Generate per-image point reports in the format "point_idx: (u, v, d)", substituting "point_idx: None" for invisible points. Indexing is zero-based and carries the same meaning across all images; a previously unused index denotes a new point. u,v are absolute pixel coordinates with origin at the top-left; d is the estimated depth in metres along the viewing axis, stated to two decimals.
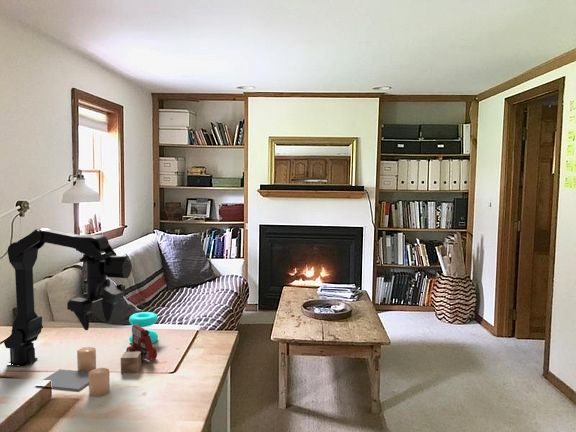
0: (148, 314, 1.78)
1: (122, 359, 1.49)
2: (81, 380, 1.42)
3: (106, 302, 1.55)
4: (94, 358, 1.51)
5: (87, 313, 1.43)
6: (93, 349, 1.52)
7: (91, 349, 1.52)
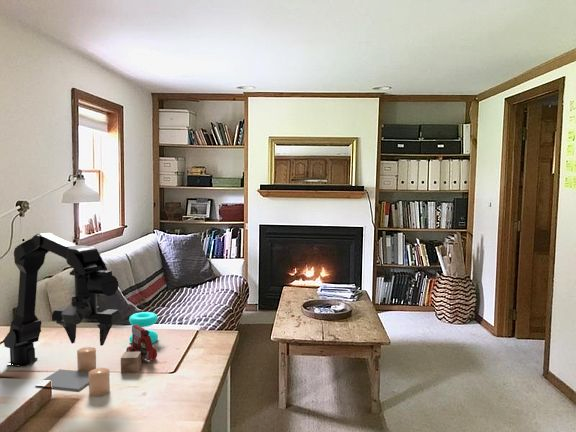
0: (148, 314, 1.78)
1: (122, 359, 1.49)
2: (81, 380, 1.42)
3: None
4: (94, 358, 1.51)
5: (62, 325, 1.39)
6: (93, 349, 1.52)
7: (91, 349, 1.52)
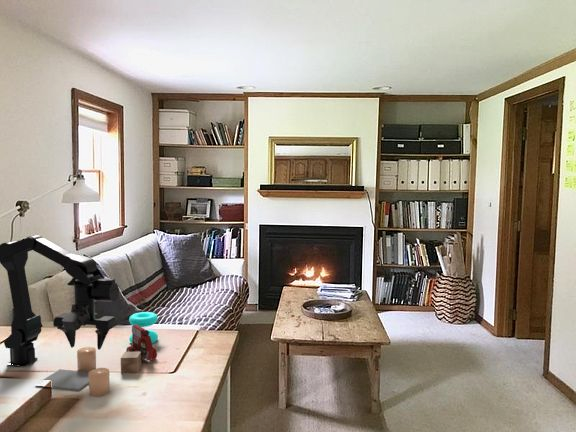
0: (148, 314, 1.78)
1: (122, 359, 1.49)
2: (81, 380, 1.42)
3: None
4: (94, 358, 1.51)
5: (62, 330, 1.50)
6: (93, 349, 1.52)
7: (91, 349, 1.52)
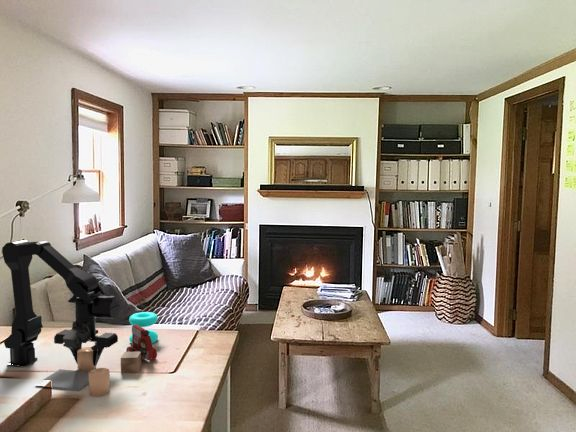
0: (148, 314, 1.78)
1: (122, 359, 1.49)
2: (81, 380, 1.42)
3: None
4: None
5: (68, 347, 1.50)
6: None
7: (91, 349, 1.52)
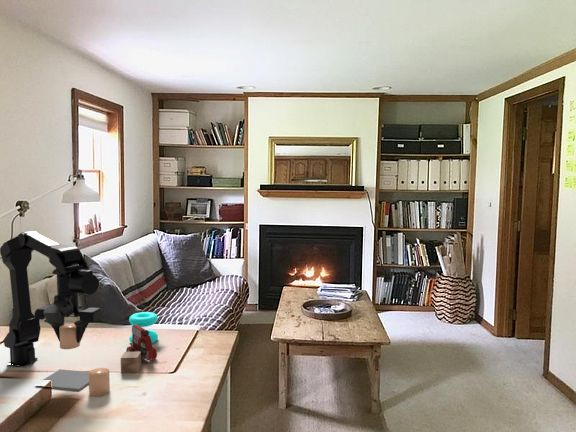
0: (148, 314, 1.78)
1: (122, 359, 1.49)
2: (81, 380, 1.42)
3: None
4: None
5: (50, 323, 1.41)
6: None
7: (74, 325, 1.43)
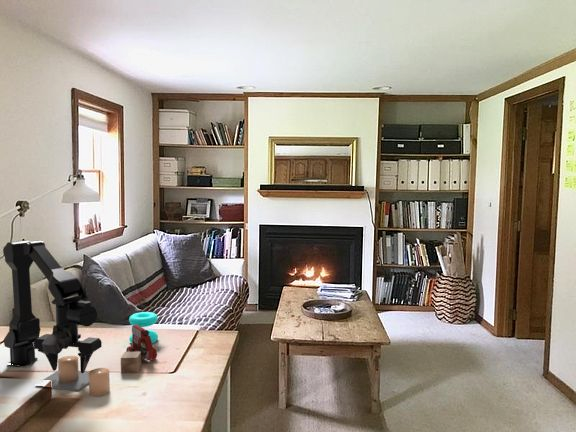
0: (148, 314, 1.78)
1: (122, 359, 1.49)
2: (81, 380, 1.42)
3: None
4: (76, 367, 1.43)
5: None
6: (75, 358, 1.43)
7: (73, 358, 1.43)
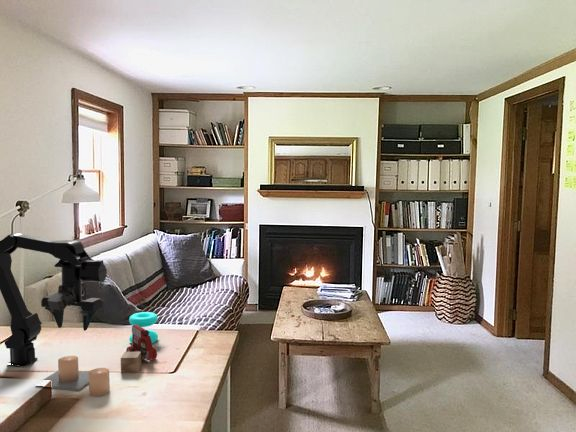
0: (148, 314, 1.78)
1: (122, 359, 1.49)
2: (81, 380, 1.42)
3: None
4: (76, 367, 1.43)
5: (50, 310, 1.53)
6: (75, 358, 1.43)
7: (73, 358, 1.43)
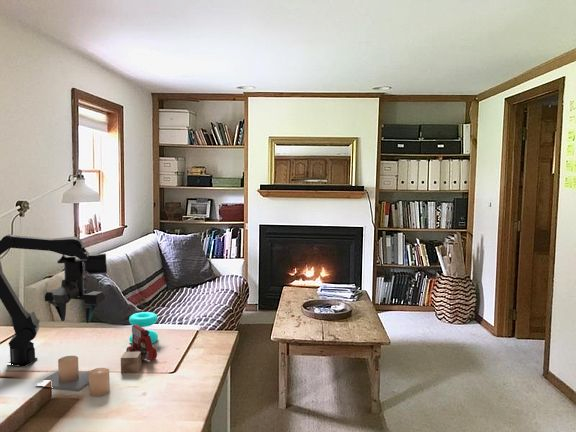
0: (148, 314, 1.78)
1: (122, 359, 1.49)
2: (81, 380, 1.42)
3: None
4: (76, 367, 1.43)
5: (53, 305, 1.59)
6: (75, 358, 1.43)
7: (73, 358, 1.43)
